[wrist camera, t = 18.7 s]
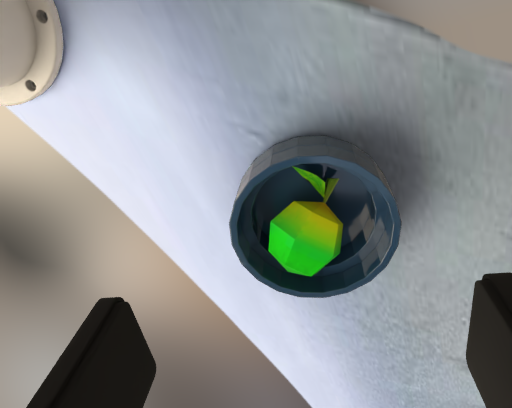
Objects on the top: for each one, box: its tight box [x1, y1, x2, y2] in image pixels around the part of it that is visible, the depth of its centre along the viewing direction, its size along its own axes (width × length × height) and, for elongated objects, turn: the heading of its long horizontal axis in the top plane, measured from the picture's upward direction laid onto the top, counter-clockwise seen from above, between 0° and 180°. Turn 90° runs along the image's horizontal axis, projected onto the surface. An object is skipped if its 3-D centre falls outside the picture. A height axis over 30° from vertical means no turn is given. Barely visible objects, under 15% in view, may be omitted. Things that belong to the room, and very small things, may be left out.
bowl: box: [229, 136, 401, 298], centre depth 31 cm, size 13×13×5 cm
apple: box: [268, 166, 343, 277], centre depth 31 cm, size 7×6×9 cm
